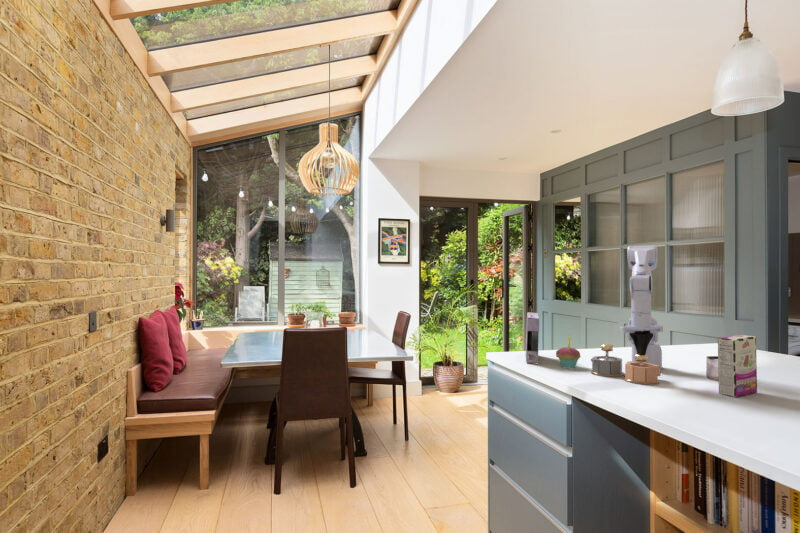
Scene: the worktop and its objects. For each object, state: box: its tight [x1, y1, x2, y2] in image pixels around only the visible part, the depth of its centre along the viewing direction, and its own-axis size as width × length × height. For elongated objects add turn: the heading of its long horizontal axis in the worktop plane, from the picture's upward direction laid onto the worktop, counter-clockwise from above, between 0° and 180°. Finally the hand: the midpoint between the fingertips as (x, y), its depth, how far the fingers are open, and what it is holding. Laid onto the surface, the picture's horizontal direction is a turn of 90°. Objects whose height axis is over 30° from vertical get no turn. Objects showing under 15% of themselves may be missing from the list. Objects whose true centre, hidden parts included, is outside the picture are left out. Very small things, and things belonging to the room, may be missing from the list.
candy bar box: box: [717, 334, 758, 398], centre depth 144 cm, size 11×5×16 cm, turn 117°
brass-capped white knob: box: [635, 354, 648, 367], centre depth 160 cm, size 5×5×5 cm
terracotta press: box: [623, 360, 661, 386], centre depth 160 cm, size 11×12×5 cm
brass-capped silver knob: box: [599, 343, 615, 360], centre depth 171 cm, size 5×5×5 cm
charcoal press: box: [590, 355, 625, 378], centre depth 171 cm, size 11×12×5 cm
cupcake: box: [555, 334, 581, 369], centre depth 182 cm, size 9×8×12 cm
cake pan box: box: [525, 312, 540, 364], centre depth 196 cm, size 19×5×18 cm, turn 166°
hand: (641, 354), depth 160 cm, fingers closed, pressing on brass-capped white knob
